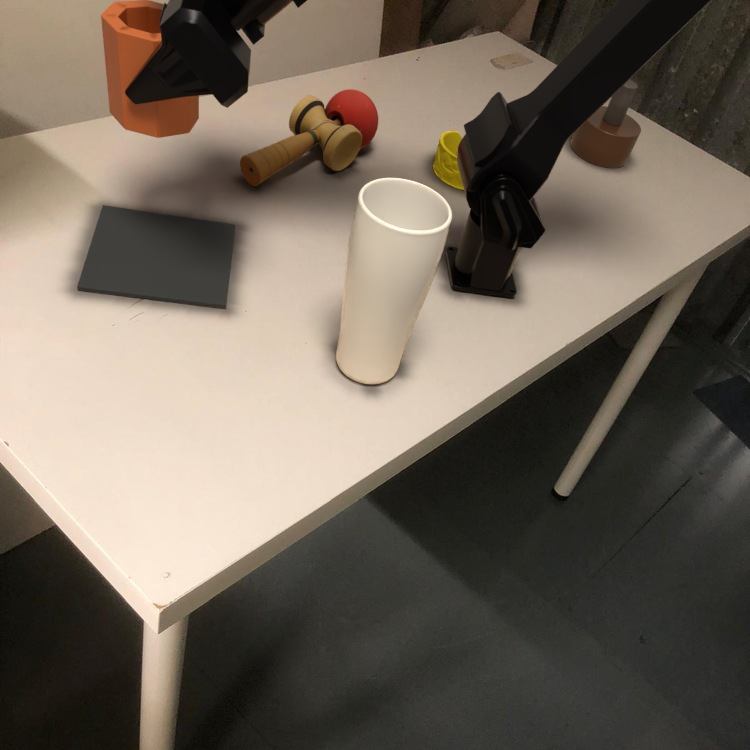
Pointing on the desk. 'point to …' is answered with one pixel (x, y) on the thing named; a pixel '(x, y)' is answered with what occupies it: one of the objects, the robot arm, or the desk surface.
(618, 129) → the stand
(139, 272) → the mat
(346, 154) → the kendama
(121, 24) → the orange hollow octagonal prism
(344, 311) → the drinking glass
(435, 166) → the bracelet
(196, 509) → the desk surface
